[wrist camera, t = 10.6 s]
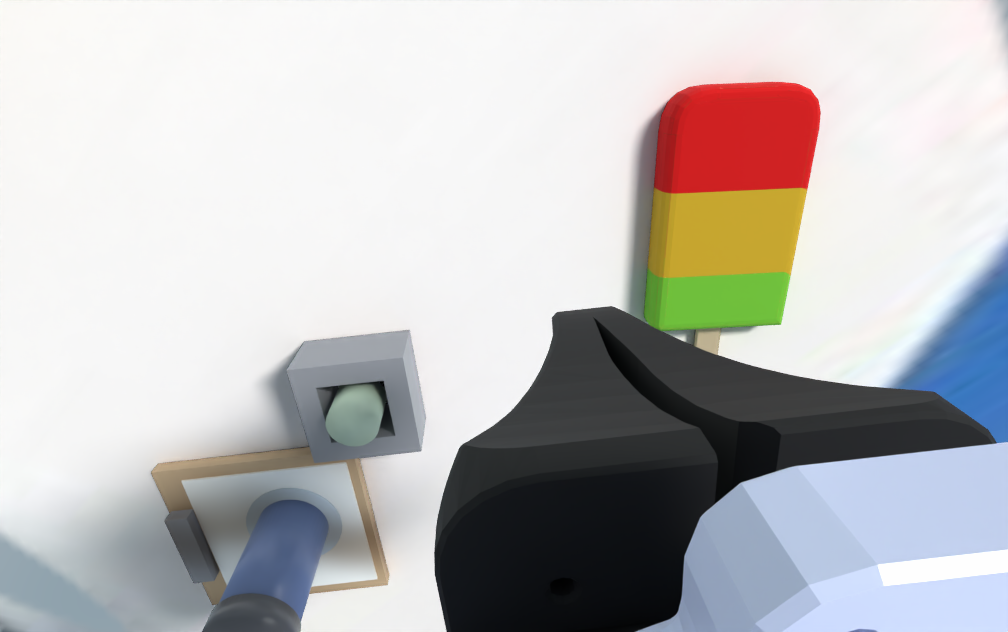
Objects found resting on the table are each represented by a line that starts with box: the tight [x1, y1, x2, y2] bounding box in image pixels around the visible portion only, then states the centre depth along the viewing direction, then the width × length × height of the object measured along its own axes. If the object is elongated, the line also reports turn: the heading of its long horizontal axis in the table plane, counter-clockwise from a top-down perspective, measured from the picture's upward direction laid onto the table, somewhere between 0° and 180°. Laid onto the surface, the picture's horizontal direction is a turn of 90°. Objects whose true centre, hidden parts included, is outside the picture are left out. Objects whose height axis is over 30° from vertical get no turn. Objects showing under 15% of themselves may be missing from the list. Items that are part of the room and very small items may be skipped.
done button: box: [325, 381, 387, 447], centre depth 21 cm, size 2×2×2 cm
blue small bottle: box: [202, 500, 329, 632], centre depth 23 cm, size 3×3×6 cm
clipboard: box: [151, 447, 389, 605], centre depth 26 cm, size 9×9×1 cm
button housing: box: [286, 330, 426, 463], centre depth 22 cm, size 4×4×2 cm
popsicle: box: [644, 82, 821, 355], centre depth 22 cm, size 6×15×2 cm, turn 2°
